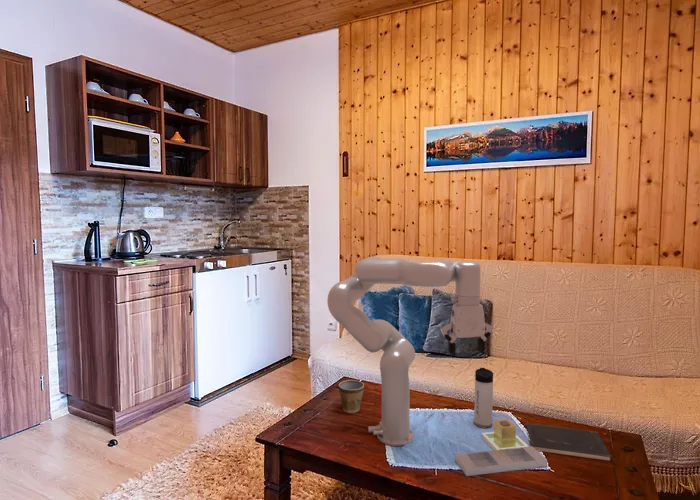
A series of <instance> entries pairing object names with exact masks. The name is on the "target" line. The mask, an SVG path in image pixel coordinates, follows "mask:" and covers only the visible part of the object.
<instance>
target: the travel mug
mask: <svg viewBox="0 0 700 500" xmlns="http://www.w3.org/2000/svg"><path fill="white" fill-rule="evenodd" d="M474 372H475V373H474V376H475V377H474V378H475V379H474V410H473V411H474V414H473V417H474V420H473V422H474V423H473V424H474V425H476V427H478V426H479V428H481V427H489V428H491V427H492V426H493V407H494V406H493V402H494V401H493V400H494V372H493V371H492V370H490V369H488V368H485V367H480V368H477V369H476V370H475V371H474Z"/></svg>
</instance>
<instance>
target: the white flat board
mask: <svg viewBox="0 0 700 500" xmlns="http://www.w3.org/2000/svg"><path fill="white" fill-rule="evenodd" d="M454 456H455V457H454V462H456V464H457V465H458V467H459V468H460V469H461V471H462V472H463V474H464V475H465V477H470V476H471V477H472V476H481V475H487V474H498V473H504V472H505V473H506V472H515V471H521V470H522V471H523V470H531V469H538V468H539V469H540V468H546V467H547V468H548V459H547V458H546V457H545V456H544V455H542V454H541V453H540V451H537V450H536V449H535V448H533V447H532V446H531V445H530V446H529V445H528V447H519V448H510V449H501V450H493V449H491V450H485V451H484V450H482V451H473V452H466V453H458V454H455V455H454Z"/></svg>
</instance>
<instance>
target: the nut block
mask: <svg viewBox="0 0 700 500" xmlns="http://www.w3.org/2000/svg"><path fill="white" fill-rule="evenodd" d="M493 432H494V442H495V443H496V444H497V445H498V446H499V447H500V448H507V447H515V443H516V435H517V427H516V425H514V424H513V422H511V421H510V420H509V419H501V420H499V419H498V420H493Z"/></svg>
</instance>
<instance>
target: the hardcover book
mask: <svg viewBox="0 0 700 500" xmlns="http://www.w3.org/2000/svg"><path fill="white" fill-rule="evenodd" d="M525 428H526V429H527V434H529V435H528V439H530V440H529V444H530V443H531V444H530V446H532V447H533V448H535V449H536V450H540V451H539V452H544V453H545V452H546V453H552V454H559V455H565V456H572V457H580V458H587V459H595V460H602V461H608V462H610V461H611V458H612V455H611V454H610V451H609V450H608V448H607V446H606V444H605V442H604V440H603V439H602V437H601V435H600V432H598V431H594V430H593V431H592V430H585V429H577V428H569V427H560V426H554V425H544V424H538V423H528V422H527V423H526V422H525Z"/></svg>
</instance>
